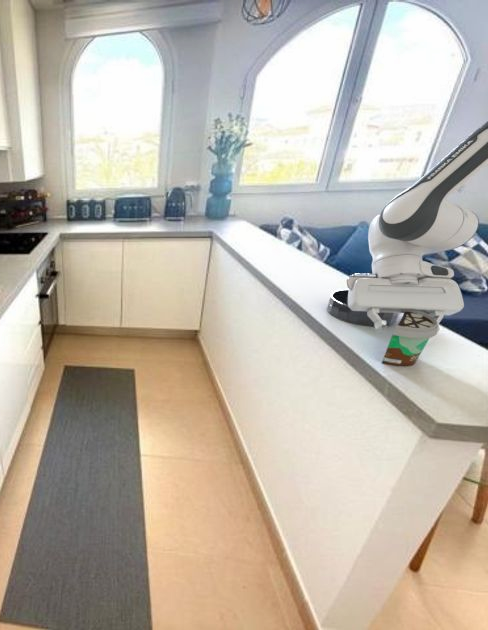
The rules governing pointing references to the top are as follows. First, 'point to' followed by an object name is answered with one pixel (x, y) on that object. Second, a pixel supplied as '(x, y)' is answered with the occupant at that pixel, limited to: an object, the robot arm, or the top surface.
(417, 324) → the food container
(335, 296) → the pan
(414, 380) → the top surface
